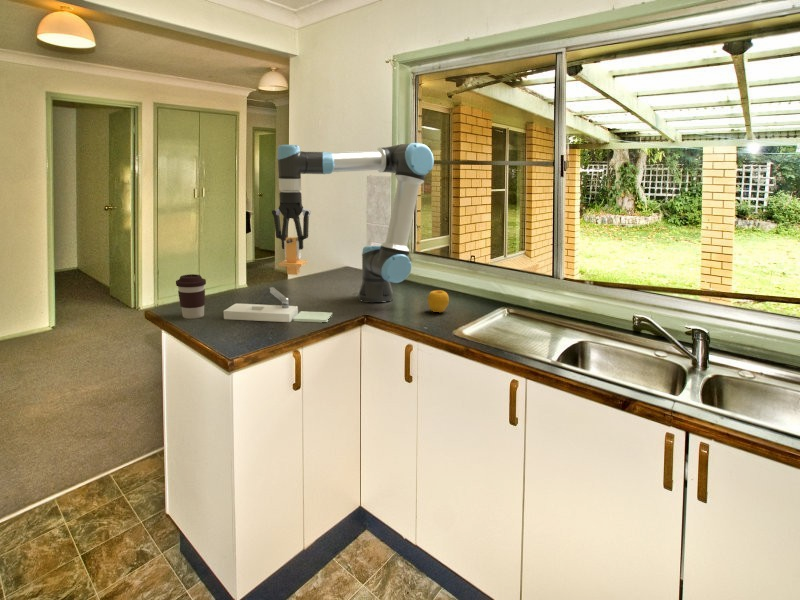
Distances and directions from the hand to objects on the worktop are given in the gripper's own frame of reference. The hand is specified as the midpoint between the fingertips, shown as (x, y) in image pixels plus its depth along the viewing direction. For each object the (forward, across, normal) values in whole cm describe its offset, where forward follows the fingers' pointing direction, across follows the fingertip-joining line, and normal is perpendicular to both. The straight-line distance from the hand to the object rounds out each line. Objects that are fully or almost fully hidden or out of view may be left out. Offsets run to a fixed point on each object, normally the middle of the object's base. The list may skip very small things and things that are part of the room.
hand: (293, 258), depth 179 cm
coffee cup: (+22, +36, +6) cm, 43 cm away
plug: (+6, 0, 0) cm, 6 cm away
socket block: (+22, +12, +1) cm, 25 cm away
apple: (+23, -52, -17) cm, 59 cm away
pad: (+22, -7, 0) cm, 23 cm away
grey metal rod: (+17, +9, -9) cm, 22 cm away
